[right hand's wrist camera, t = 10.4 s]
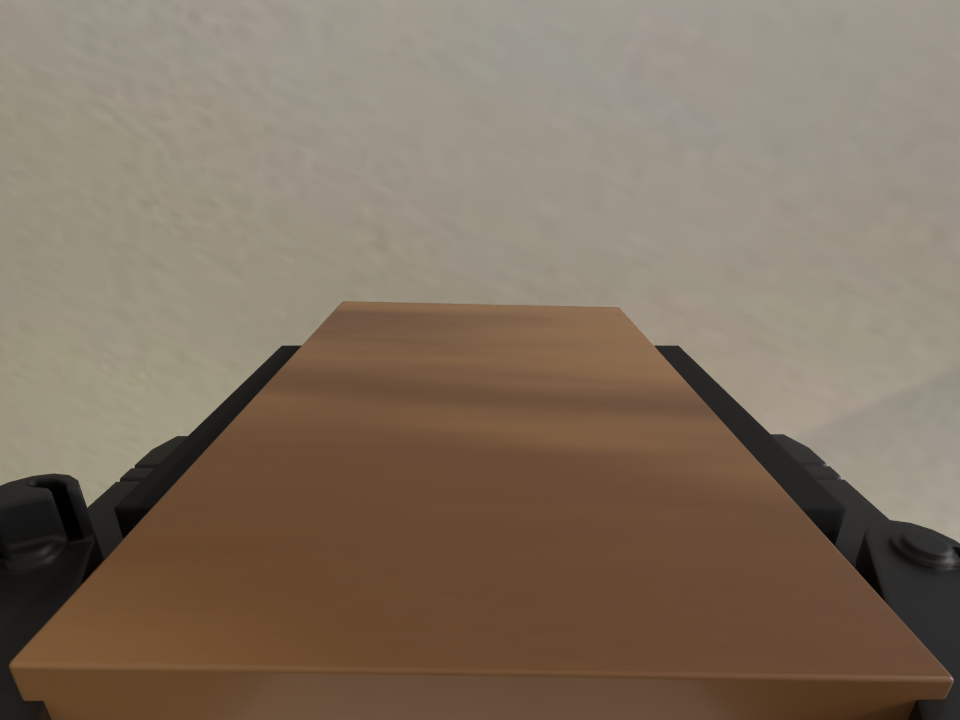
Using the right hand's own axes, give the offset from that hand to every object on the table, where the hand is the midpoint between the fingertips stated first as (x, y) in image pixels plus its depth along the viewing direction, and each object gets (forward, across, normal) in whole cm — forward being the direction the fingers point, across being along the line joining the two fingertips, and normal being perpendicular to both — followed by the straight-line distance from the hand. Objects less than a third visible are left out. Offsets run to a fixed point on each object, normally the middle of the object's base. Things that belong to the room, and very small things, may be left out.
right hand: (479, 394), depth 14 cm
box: (+3, 0, -13) cm, 13 cm away
